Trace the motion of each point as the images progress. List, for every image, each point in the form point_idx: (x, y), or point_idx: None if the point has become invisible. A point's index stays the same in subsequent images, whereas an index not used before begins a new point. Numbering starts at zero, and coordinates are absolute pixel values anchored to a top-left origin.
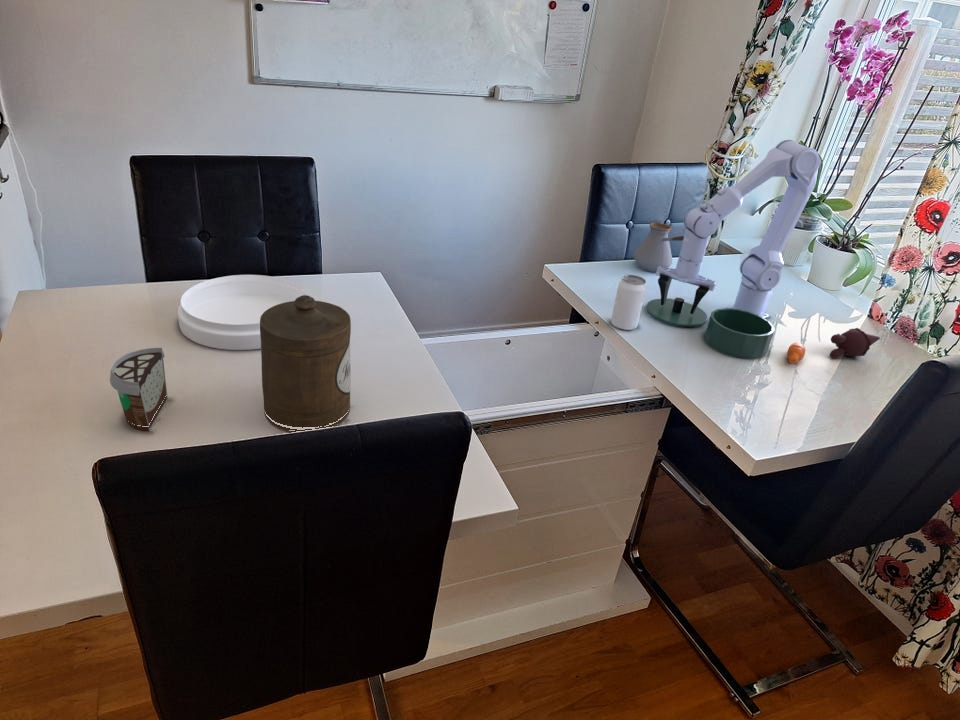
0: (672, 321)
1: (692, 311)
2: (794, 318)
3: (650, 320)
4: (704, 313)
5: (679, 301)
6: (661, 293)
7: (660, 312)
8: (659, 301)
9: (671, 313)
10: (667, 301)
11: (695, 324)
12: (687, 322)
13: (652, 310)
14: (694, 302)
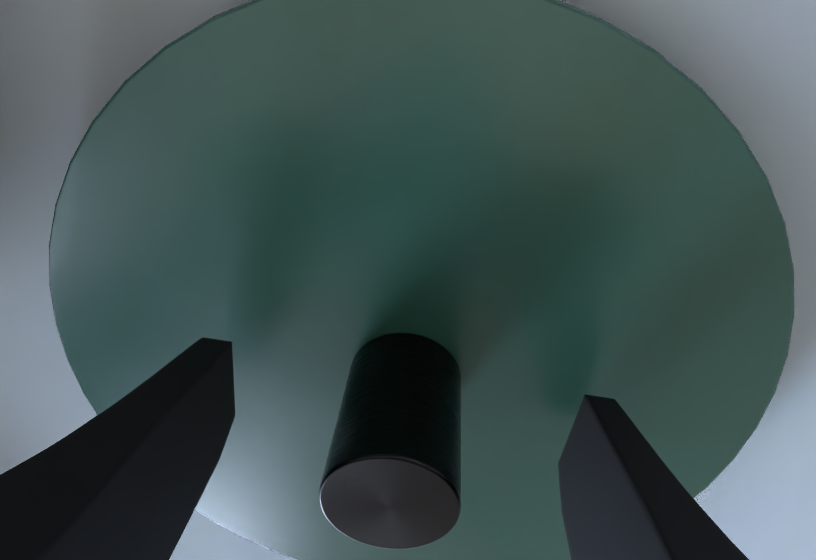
0: (403, 21)
1: (189, 354)
2: None
3: (729, 4)
4: None
5: (382, 452)
6: (711, 530)
7: (602, 240)
8: None
9: (455, 288)
10: (527, 530)
11: (96, 125)
12: (203, 123)
13: (719, 244)
14: (114, 449)
